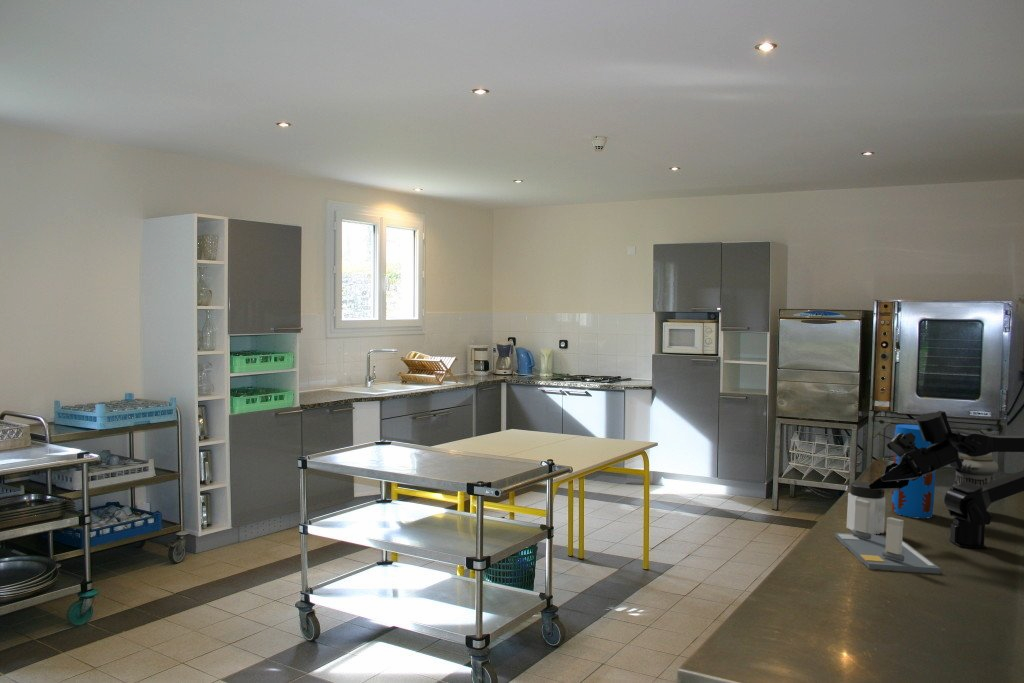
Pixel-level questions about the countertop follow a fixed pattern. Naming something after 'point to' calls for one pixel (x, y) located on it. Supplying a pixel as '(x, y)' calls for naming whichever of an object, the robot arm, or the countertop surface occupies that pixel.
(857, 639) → the countertop surface
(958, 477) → the apothecary jar
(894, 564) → the switch panel
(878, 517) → the jar
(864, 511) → the lever
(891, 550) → the lever
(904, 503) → the thermos
